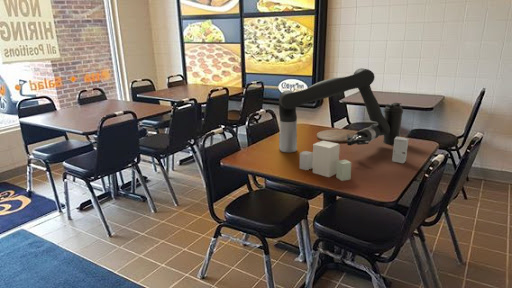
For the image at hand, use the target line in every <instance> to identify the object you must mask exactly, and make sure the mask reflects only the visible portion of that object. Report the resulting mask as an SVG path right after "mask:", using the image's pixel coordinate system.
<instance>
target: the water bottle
mask: <svg viewBox="0 0 512 288" xmlns="http://www.w3.org/2000/svg"><path fill="white" fill-rule="evenodd" d="M401 105H402V103H399V102H393V103H387V104H386V105H385V107H384V109H383V112H384V118H385V120H386V121H387V122H388V124H389V126H390V132H389V134H387V135H383V143H384V144H387V145H394V139H395V138H396V137H401V136H400V135H401V127H402V117H403V114H404V109H403V107H402V106H401Z"/></svg>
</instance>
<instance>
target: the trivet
mask: <svg viewBox="0 0 512 288" xmlns="http://www.w3.org/2000/svg"><path fill="white" fill-rule="evenodd" d="M356 133H357V132H355V131H350V130H345V129H326V130H325V129H324V130H320V131H319V132H317V133H316V138H317V140H319V141H328V142H333V143H337V144H347V135H349V136H350V137H352V136H353V135H355V134H356Z"/></svg>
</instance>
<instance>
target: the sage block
mask: <svg viewBox="0 0 512 288" xmlns="http://www.w3.org/2000/svg"><path fill="white" fill-rule="evenodd" d="M335 175H336V176H335V177H336V179H338V180H340V181H341V182H343V181H349V180H351V177H352V162H351V161H350V160H348V159H339V161H337V171H336V174H335Z"/></svg>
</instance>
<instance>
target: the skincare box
mask: <svg viewBox="0 0 512 288" xmlns="http://www.w3.org/2000/svg"><path fill="white" fill-rule="evenodd" d="M409 140H410V139H409V138H407V137H401V136H399V137H396V138H395V139H394V144H393V148H392V157H391V162H394V163H399V164H405V163H406V161H407V154H408V147H409Z"/></svg>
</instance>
